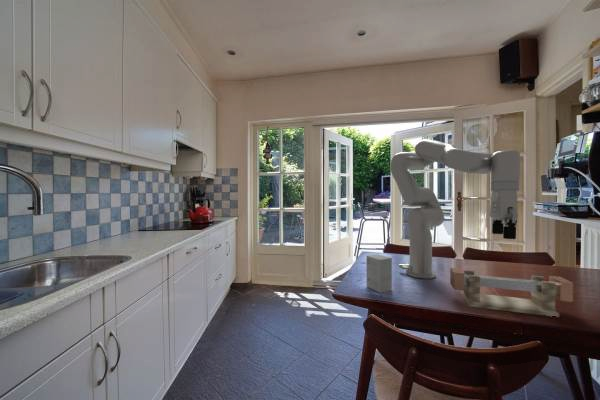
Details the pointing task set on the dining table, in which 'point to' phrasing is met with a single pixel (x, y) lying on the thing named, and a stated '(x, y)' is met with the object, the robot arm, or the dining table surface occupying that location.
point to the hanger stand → (512, 298)
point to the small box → (379, 273)
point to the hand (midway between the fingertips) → (503, 236)
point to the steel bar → (514, 284)
